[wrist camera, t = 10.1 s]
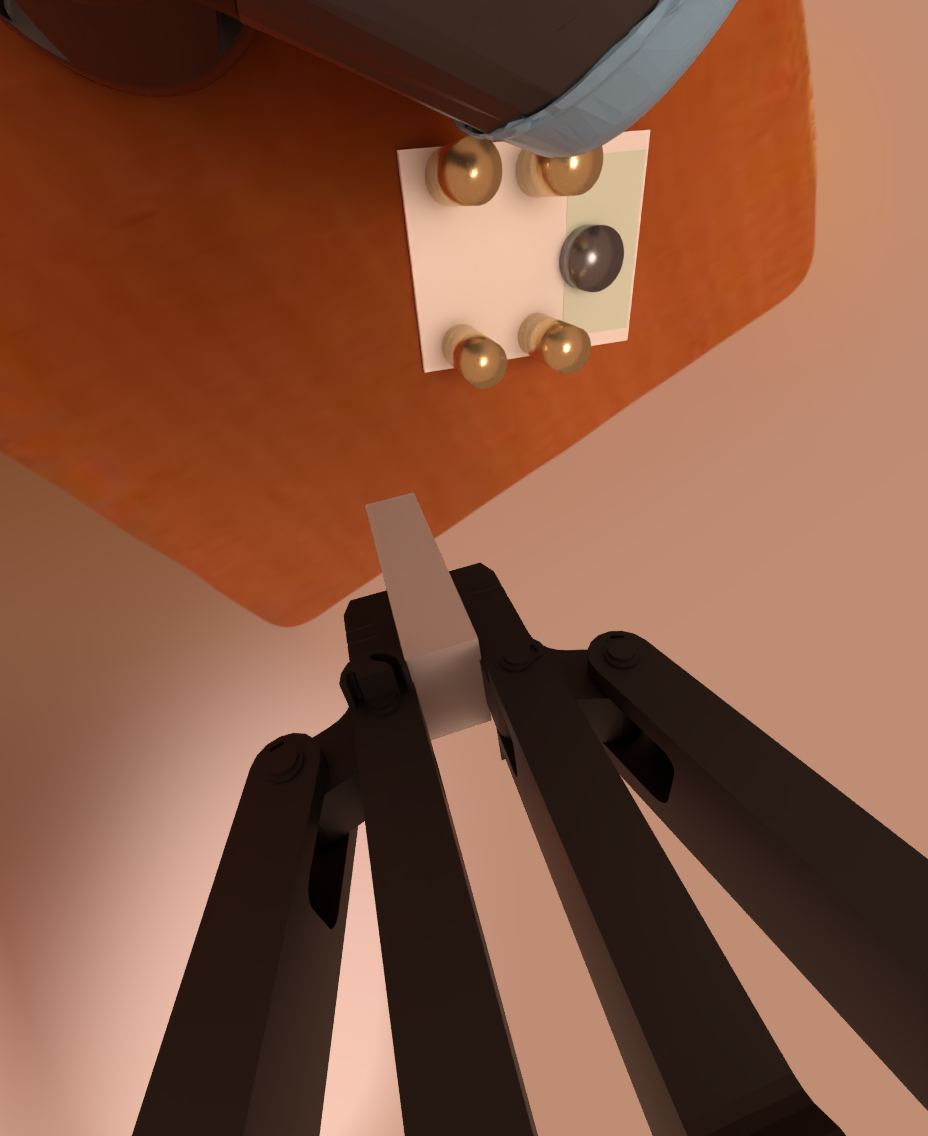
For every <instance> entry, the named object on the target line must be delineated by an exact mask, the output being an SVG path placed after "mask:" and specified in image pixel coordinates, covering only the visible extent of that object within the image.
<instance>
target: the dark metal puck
mask: <svg viewBox="0 0 928 1136" xmlns="http://www.w3.org/2000/svg"><path fill="white" fill-rule="evenodd" d="M623 259H624V246H623V241H622V239H621V237H620V235H619V233H618V232H617V231H616V230H615V229H614V228H612V227H610V226H607V225H590V224H588V225H582V226H580V227H578V228H576V229H575V230H574V231H572V232H571V233H570V234H569V236H568V237H567V238H566V240H565V242H564V244H563V246H562V249H561V252H560V258H559V267H560V272H561V275H562V277H563V279H564V281H565V282H566V283H567V284H568V285H569V286H571V287H573V288H576V289H579V290H583V291H587V292H599V291H602V290H604V289H605V288H607V287H608V286H610V285H611V284H612V283H613V281H614V280H615V279H616V277H617V276H618V274H619V272H620V270H621V267H622V264H623Z"/></svg>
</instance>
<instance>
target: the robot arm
mask: <svg viewBox="0 0 928 1136" xmlns="http://www.w3.org/2000/svg"><path fill="white" fill-rule="evenodd" d="M737 1H738V0H0V19H1V20H2V21H3V22H4V23H5V24H6V25H7V26H9V27H10V28H11V29H12V30H14V31H15V32H16V33H17V34H19V35H20V36H21V37H22V38H24V39H25V40H26V41H28V42H29V43H31V44H32V45H33V46H35V47H36V48H38V49H39V50H41V51H42V52H44V53H45V54H47V55H48V56H50V57H52V58H53V59H55V60H56V61H58V62H59V63H61V64H62V65H64V66H66V67H67V68H69V69H71V70H73V71H74V72H76V73H78V74H80V75H82V76H84V77H86V78H88V79H90V80H92V81H95V82H97V83H99V84H102V85H104V86H107V87H110V88H113V89H116V90H119V91H123V92H127V93H132V94H137V95H144V96H173V95H180V94H184V93H189V92H192V91H195V90H198V89H200V88H202V87H204V86H207V85H209V84H210V83H212V82H214V81H215V80H217V79H218V78H220V77H221V76H222V75H224V74H225V73H226V72H227V71H228V70H229V69H230V68H232V67H233V66H234V64H235V63H236V62H237V61H238V60H239V59H240V58H241V56H242V55H243V53H244V52H245V51H246V49H247V48H248V46H249V44H250V43H251V41H252V39H253V38H254V35H255V33H256V31H257V30H259V31H261V32H263V33H265V34H267V35H270V36H272V37H274V38H276V39H278V40H281V41H283V42H285V43H287V44H290V45H292V46H294V47H296V48H298V49H301V50H303V51H305V52H307V53H309V54H312V55H314V56H316V57H318V58H320V59H323V60H325V61H327V62H329V63H331V64H334V65H336V66H338V67H340V68H342V69H345V70H347V71H349V72H351V73H353V74H356V75H358V76H360V77H362V78H364V79H367V80H369V81H371V82H373V83H375V84H378V85H380V86H382V87H384V88H386V89H389V90H391V91H393V92H395V93H397V94H400V95H402V96H404V97H406V98H408V99H411V100H413V101H415V102H417V103H419V104H422V105H424V106H426V107H428V108H430V109H433V110H435V111H437V112H439V113H441V114H444V115H446V116H448V117H450V118H452V121H453V123H454V124H455V126H456V127H458V128H459V129H460V130H461V131H463V132H464V133H466V134H468V135H470V136H472V137H474V138H477V139H488V140H492V141H496V140H501V141H504V142H506V143H509V144H511V145H514V146H516V147H519V148H521V149H524V150H527V151H529V152H532V153H534V154H537V155H540V156H543V157H549V158H555V157H573V156H577V155H582V154H585V153H587V152H589V151H592V150H594V149H596V148H598V147H600V146H602V145H604V144H606V143H608V142H609V141H611V140H613V139H614V138H616V137H617V136H618V135H620V134H621V133H623V132H624V131H625V130H627V129H628V128H629V127H630V126H632V125H633V124H634V123H635V122H637V121H638V120H639V119H640V118H641V117H642V116H644V115H645V114H646V113H647V112H648V111H649V110H650V109H651V108H652V107H653V106H654V105H655V104H656V103H657V102H658V101H659V100H660V99H661V98H662V97H663V96H664V95H665V94H666V93H667V92H668V91H669V90H670V88H671V87H672V86H673V85H674V84H675V83H676V82H677V81H678V80H679V79H680V77H681V76H682V75H683V74H684V73H685V72H686V70H687V69H688V68H689V67H690V66H691V64H692V63H693V62H694V61H695V59H696V58H697V57H698V56H699V55H700V53H701V52H702V51H703V49H704V48H705V47H706V45H707V44H708V43H709V41H710V40H711V39H712V37H713V36H714V35H715V33H716V32H717V31H718V29H719V28H720V26H721V25H722V24H723V22H724V21H725V19H726V18H727V17H728V15H729V14H730V12H731V10H732V9H733V7H734V6H735V4H736V3H737ZM365 507H366V511H367V515H368V519H369V522H370V526H371V530H372V534H373V538H374V542H375V546H376V550H377V554H378V558H379V561H380V565H381V569H382V573H383V577H384V581H385V585H386V589H387V591H383V592H380V593H376V594H372V595H369V596H365V597H362V598H358V599H354V600H351V601H350V602H349V605H348V607H347V609H346V612H345V614H344V622H345V630H346V637H347V643H348V652H349V660H350V662H349V663H348V664H347V665H346V667H345V668H344V670H343V671H342V673H341V677H340V684H339V685H340V687H341V689H342V692H343V694H344V696H345V698H346V701H347V703H348V705H349V708H348V710H347V711H346V713H345V714H344V715H343V716H342V717H341V718H340V719H339V721H337V722H336V723H334V724H333V725H332V726H330V727H329V728H327V729H326V730H324V731H323V732H321V733H320V734H318V735H316V736H315V737H313V738H312V737H310V736H308V735H307V734H301V733H300V734H299V733H292V734H288V735H285V736H281V737H279V738H277V739H276V740H274V741H273V742H271V743H269V744H268V745H267V746H265V748H264V749H263V750H262V751H261V752H260V753H259V754H258V755H257V757H256V758H255V760H254V762H253V764H252V766H251V768H250V771H249V774H248V777H247V780H246V784H245V786H244V789H243V792H242V796H241V799H240V802H239V805H238V808H237V811H236V814H235V818H234V820H233V824H232V827H231V830H230V833H229V836H228V839H227V842H226V845H225V848H224V851H223V855H222V858H221V861H220V864H219V867H218V870H217V873H216V876H215V880H214V883H213V886H212V889H211V892H210V895H209V898H208V901H207V904H206V907H205V910H204V913H203V917H202V920H201V923H200V926H199V929H198V932H197V935H196V938H195V941H194V945H193V948H192V951H191V954H190V957H189V960H188V963H187V966H186V969H185V973H184V975H183V979H182V982H181V985H180V988H179V991H178V994H177V997H176V1001H175V1003H174V1007H173V1010H172V1013H171V1016H170V1019H169V1022H168V1025H167V1028H166V1031H165V1034H164V1038H163V1041H162V1044H161V1047H160V1050H159V1053H158V1056H157V1060H156V1062H155V1066H154V1069H153V1072H152V1075H151V1078H150V1081H149V1084H148V1087H147V1090H146V1093H145V1097H144V1100H143V1103H142V1106H141V1109H140V1112H139V1115H138V1118H137V1121H136V1125H135V1128H134V1131H133V1134H132V1136H319V1134H320V1126H321V1119H322V1111H323V1103H324V1094H325V1086H326V1079H327V1071H328V1062H329V1054H330V1047H331V1038H332V1030H333V1023H334V1015H335V1006H336V999H337V991H338V982H339V974H340V966H341V958H342V950H343V942H344V934H345V926H346V918H347V910H348V902H349V894H350V886H351V878H352V870H353V862H354V854H355V846H356V838H357V830H358V825H360V824H361V823H362V822H364V821H365V825H366V833H367V841H368V848H369V856H370V864H371V872H372V880H373V888H374V896H375V904H376V912H377V920H378V927H379V935H380V943H381V951H382V958H383V967H384V975H385V983H386V991H387V999H388V1007H389V1014H390V1022H391V1030H392V1038H393V1046H394V1054H395V1062H396V1070H397V1078H398V1086H399V1093H400V1102H401V1109H402V1118H403V1125H404V1133H405V1136H538V1134H537V1131H536V1127H535V1123H534V1120H533V1116H532V1112H531V1108H530V1105H529V1101H528V1097H527V1093H526V1090H525V1086H524V1083H523V1079H522V1075H521V1071H520V1068H519V1064H518V1061H517V1057H516V1053H515V1049H514V1045H513V1042H512V1038H511V1034H510V1031H509V1027H508V1023H507V1020H506V1016H505V1012H504V1008H503V1005H502V1001H501V997H500V994H499V990H498V987H497V983H496V979H495V975H494V971H493V968H492V964H491V960H490V957H489V953H488V949H487V946H486V942H485V938H484V935H483V931H482V927H481V923H480V920H479V916H478V913H477V909H476V905H475V901H474V898H473V894H472V890H471V886H470V883H469V879H468V875H467V872H466V868H465V864H464V860H463V857H462V853H461V850H460V846H459V842H458V839H457V835H456V831H455V827H454V824H453V820H452V816H451V813H450V809H449V805H448V802H447V798H446V794H445V790H444V787H443V783H442V779H441V775H440V772H439V768H438V764H437V761H436V758H435V755H434V751H433V747H432V744H431V740H433V739H436V738H439V737H442V736H445V735H448V734H451V733H454V732H457V731H460V730H463V729H466V728H469V727H472V726H475V725H478V724H481V723H485V722H488V721H491V715H492V717H493V720H494V722H495V725H496V727H497V733H498V740H499V746H500V752H501V759H502V760H504V759H506V761H507V763H508V766H509V768H510V771H511V774H512V777H513V779H514V782H515V784H516V787H517V789H518V792H519V794H520V797H521V800H522V802H523V804H524V807H525V810H526V812H527V815H528V817H529V820H530V823H531V825H532V828H533V830H534V833H535V835H536V838H537V840H538V843H539V846H540V848H541V851H542V853H543V856H544V858H545V861H546V863H547V866H548V869H549V871H550V874H551V876H552V879H553V881H554V884H555V886H556V889H557V891H558V894H559V897H560V899H561V901H562V904H563V907H564V910H565V912H566V915H567V917H568V920H569V922H570V925H571V928H572V930H573V933H574V935H575V938H576V940H577V943H578V946H579V948H580V950H581V953H582V956H583V958H584V961H585V963H586V966H587V968H588V971H589V974H590V976H591V979H592V981H593V983H594V987H595V989H596V991H597V994H598V997H599V999H600V1002H601V1004H602V1007H603V1010H604V1012H605V1015H606V1017H607V1020H608V1022H609V1025H610V1027H611V1030H612V1033H613V1035H614V1038H615V1040H616V1043H617V1045H618V1048H619V1050H620V1053H621V1056H622V1058H623V1061H624V1063H625V1066H626V1068H627V1071H628V1074H629V1076H630V1079H631V1081H632V1084H633V1086H634V1089H635V1091H636V1094H637V1097H638V1099H639V1102H640V1104H641V1107H642V1109H643V1112H644V1115H645V1117H646V1120H647V1122H648V1125H649V1127H650V1130H651V1132H652V1135H653V1136H846V1135H845V1134H844V1132H843V1131H842V1130H841V1129H840V1127H838V1125H836V1124H835V1123H834V1122H833V1121H832V1120H831V1119H830V1118H829V1117H828V1116H827V1115H826V1114H825V1113H824V1112H823V1111H822V1110H821V1109H820V1108H819V1107H818V1106H817V1105H816V1104H815V1103H814V1102H813V1101H812V1100H811V1098H810V1097H809V1096H808V1095H807V1093H806V1092H805V1091H804V1089H803V1088H802V1086H801V1085H800V1083H799V1082H798V1080H797V1079H796V1077H795V1075H794V1074H793V1072H792V1070H791V1069H790V1067H789V1066H788V1064H787V1062H786V1060H785V1058H784V1057H783V1055H782V1053H781V1052H780V1050H779V1048H778V1046H777V1045H776V1043H775V1041H774V1040H773V1038H772V1036H771V1034H770V1033H769V1031H768V1029H767V1028H766V1026H765V1024H764V1022H763V1021H762V1019H761V1017H760V1015H759V1014H758V1012H757V1010H756V1009H755V1007H754V1005H753V1004H752V1002H751V1000H750V998H749V997H748V995H747V993H746V991H745V990H744V988H743V986H742V985H741V983H740V981H739V979H738V978H737V976H736V974H735V972H734V971H733V969H732V967H731V966H730V964H729V962H728V960H727V959H726V957H725V955H724V954H723V952H722V950H721V948H720V947H719V945H718V943H717V942H716V940H715V938H714V936H713V935H712V933H711V931H710V929H709V928H708V926H707V924H706V923H705V921H704V919H703V917H702V916H701V914H700V912H699V911H698V909H697V907H696V905H695V904H694V902H693V900H692V899H691V897H690V895H689V893H688V892H687V890H686V888H685V887H684V885H683V883H682V881H681V880H680V878H679V876H678V875H677V873H676V871H675V869H674V868H673V866H672V864H671V862H670V861H669V859H668V857H667V855H666V854H665V852H664V850H663V849H662V847H661V845H660V844H659V842H658V840H657V838H656V837H655V835H654V833H653V831H652V830H651V828H650V826H649V825H648V823H647V821H646V819H645V818H644V816H643V814H642V813H641V811H640V809H639V807H638V806H637V804H636V802H635V800H634V799H633V797H632V795H631V794H630V792H629V790H628V788H627V787H626V785H625V784H624V782H623V780H622V778H623V779H624V780H625V781H626V782H627V783H628V784H629V785H630V786H631V787H632V789H633V790H634V791H635V792H636V793H637V794H638V795H639V796H640V797H641V798H642V799H643V801H645V803H646V804H647V805H648V806H649V807H650V808H651V809H652V810H653V811H654V813H655V814H656V815H657V816H658V817H659V818H660V819H661V820H662V821H663V822H664V823H665V824H666V826H667V827H668V828H669V829H670V830H671V831H672V832H673V833H674V834H675V835H676V837H677V838H678V839H679V840H680V841H681V842H682V843H683V844H684V845H685V846H686V847H687V849H688V850H689V851H690V852H691V853H692V854H693V855H694V856H695V857H696V858H697V859H698V860H699V861H700V863H701V864H702V865H703V866H704V867H705V868H706V869H707V870H708V871H709V873H710V874H711V875H712V876H713V877H714V878H715V879H716V880H717V881H718V882H719V883H720V885H722V887H723V888H724V889H725V890H726V891H727V892H728V893H729V894H730V895H731V897H732V898H733V899H734V900H735V901H736V902H737V903H738V904H739V905H740V906H741V907H742V908H743V910H744V911H745V912H746V913H747V914H748V915H749V916H750V917H751V918H752V919H753V921H754V922H755V923H756V924H757V925H758V926H759V927H760V928H761V929H762V930H763V931H764V933H765V934H766V935H768V937H769V938H770V939H771V940H772V941H773V942H774V943H775V945H777V947H778V948H779V949H780V950H781V951H782V952H783V953H784V954H785V955H786V957H787V958H788V959H789V960H790V961H791V962H792V963H793V964H794V965H795V966H796V967H797V969H798V970H799V971H800V972H801V973H802V974H803V975H804V976H805V977H806V978H807V979H808V981H809V982H810V983H811V984H812V985H813V986H814V987H815V988H816V989H817V990H818V991H819V992H820V994H821V995H822V996H823V997H824V998H825V999H826V1000H827V1001H828V1002H829V1003H830V1005H831V1006H832V1007H833V1008H834V1009H835V1010H836V1011H837V1012H838V1013H839V1014H840V1016H841V1017H842V1018H843V1019H844V1020H845V1021H846V1022H847V1023H848V1024H849V1025H850V1026H851V1028H852V1029H853V1030H854V1031H855V1032H856V1033H857V1034H858V1035H859V1036H860V1037H861V1038H862V1040H863V1041H865V1043H866V1044H867V1045H868V1046H869V1047H870V1048H871V1049H872V1050H873V1051H874V1053H875V1054H876V1055H877V1056H878V1057H879V1058H880V1059H881V1060H882V1061H883V1062H884V1064H886V1066H887V1067H888V1068H889V1069H890V1070H891V1071H892V1072H893V1073H894V1074H895V1075H896V1077H897V1078H898V1079H899V1080H900V1081H901V1082H902V1083H903V1084H904V1085H905V1086H906V1087H907V1089H908V1090H909V1091H910V1092H911V1093H912V1094H913V1095H914V1096H915V1097H916V1098H917V1100H918V1101H919V1102H920V1103H921V1104H922V1105H923V1106H924V1107H925V1108H926V1109H927V1110H928V859H927V858H926V857H924V856H923V855H922V854H920V853H919V852H918V851H917V850H915V849H914V848H913V847H911V846H910V845H909V844H907V843H906V842H905V841H904V840H902V839H901V838H900V837H898V836H897V835H896V834H895V833H893V832H892V831H891V830H890V829H888V828H887V827H886V826H884V825H883V824H882V823H881V822H879V821H878V820H877V819H875V818H874V817H873V816H872V815H870V814H869V813H868V812H866V811H865V810H864V809H863V808H861V807H860V806H859V805H857V804H856V803H855V802H853V801H852V800H851V799H850V798H848V797H847V796H846V795H844V794H843V793H842V792H841V791H839V790H838V789H837V788H835V787H834V786H833V785H832V784H830V783H829V782H828V781H826V780H825V779H824V778H823V777H821V776H820V775H819V774H817V773H816V772H815V771H814V770H812V769H811V768H810V767H808V766H807V765H806V764H805V763H803V762H802V761H801V760H799V759H798V758H797V757H796V756H794V755H793V754H792V753H790V752H789V751H788V750H787V749H785V748H784V747H783V746H781V745H780V744H779V743H778V742H776V741H775V740H774V739H772V738H771V737H770V736H768V735H767V734H766V733H765V732H763V731H762V730H761V729H759V728H758V727H757V726H756V725H754V724H753V723H752V722H750V721H749V720H748V719H746V718H745V717H744V716H743V715H741V714H740V713H739V712H738V711H736V710H735V709H734V708H732V707H731V706H730V705H729V704H727V703H726V702H725V701H723V700H722V699H721V698H719V697H718V696H717V695H716V694H714V693H713V692H712V691H711V690H709V689H708V688H707V687H705V686H704V685H703V684H701V683H700V682H699V681H698V680H696V679H695V678H694V677H692V676H691V675H690V674H689V673H687V672H686V671H685V670H683V669H682V668H681V667H680V666H678V665H677V664H675V663H674V662H673V661H672V660H671V659H669V658H668V657H667V656H665V655H664V654H663V653H662V652H660V651H659V650H658V649H656V648H655V647H654V646H653V645H651V644H650V643H649V642H647V641H646V640H645V639H643V638H641V637H639V636H637V635H635V634H633V633H629V632H624V631H609V632H607V633H604V634H601V635H599V636H597V637H596V638H595V639H594V640H593V641H592V642H591V643H590V646H589V648H588V650H556V649H551V648H547V647H545V646H543V645H542V644H541V643H540V642H539V641H537V640H534V639H533V638H532V637H531V635H530V634H529V633H528V631H527V629H526V628H525V626H524V624H523V622H522V620H521V619H520V617H519V615H518V613H517V612H516V610H515V608H514V606H513V605H512V603H511V601H510V599H509V598H508V597H507V594H506V592H505V590H504V589H503V587H502V586H501V584H500V582H499V580H498V578H497V576H496V575H495V573H494V571H492V570H491V569H489V568H488V567H486V566H485V565H483V564H481V563H477V564H474V565H470V566H467V567H463V568H459V569H456V570H452V571H448V569H447V567H446V565H445V562H444V560H443V558H442V556H441V553H440V551H439V549H438V546H437V544H436V542H435V540H434V537H433V535H432V533H431V530H430V528H429V526H428V524H427V521H426V519H425V517H424V515H423V512H422V510H421V508H420V505H419V503H418V501H417V499H416V496H415V494H414V492H413V493H409V494H405V495H401V496H397V497H393V498H390V499H386V500H382V501H378V502H374V503H370V504H366V505H365ZM490 712H491V714H490ZM619 774H620V775H621V777H622V778H621V777H620V775H619Z"/></svg>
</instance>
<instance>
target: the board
mask: <svg viewBox="0 0 928 1136" xmlns="http://www.w3.org/2000/svg"><path fill="white" fill-rule="evenodd" d="M649 138H650V130H641V131H628V132H623V133H621V134H620V135H618V136H617V137H616V138H614V139H613V140H611V141H609V142H608V143H606V144H604V145H602V147H603V166H602V170H601V173H600V176H599V178H598V180H597V182H596V183H595V185H594V186H593V187H592V188H591V189H590V190H589V191H587V192H586V193H584V194H582V195H577V196H558V197H539V198H533V197H530V196H528V195H526V194H525V193H524V192H523V191H522V190H521V189H520V187H519V185H518V182H517V179H516V162H517V158H518V155H519V153H520V151H521V150H522V149H521V148H519V147H516V146H514V145H511V144H509V143H506V142H492V143H493V144H494V145H495V146H496V148H497V150H498V151H499V154H500V157H501V161H502V180H501V184H500V187H499V189H498V191H497V193H496V194H495V196H494V197H493V198H492V199H491V200H490V201H489V202H487V203H485V204H483V205H480V206H443V205H441V204H439V203H437V202H436V201H435V200H434V199H433V198H432V197H431V195H430V193H429V191H428V189H427V186H426V181H425V170H426V165H427V162H428V160H429V158H430V156H431V155H432V154H433V152H434V151H436V150H437V149H439V148H441V147H430V148H417V149H405V150H397V159H398V167H399V175H400V183H401V191H402V199H403V208H404V216H405V224H406V232H407V240H408V248H409V256H410V265H411V273H412V281H413V289H414V297H415V305H416V314H417V322H418V330H419V338H420V346H421V354H422V363H423V371H424V372H425V373H426V372H432V371H438V370H445V369H451V368H454V367H453V366H452V365H451V364H450V363H449V362H448V361H447V360H446V359H445V357H444V355H443V352H442V341H443V338H444V335H445V334H446V332H447V331H448V330H449V329H450V328H451V327H453V326H455V325H457V324H467V325H469V326H471V327H473V328H474V329H476V330H477V331H479V332H481V333H482V334H484V335H485V336H487V337H488V338H490V339H491V340H493V341H495V342H496V343H498V344H499V345H500V346H501V347H502V348H503V349H504V351H505V353H506V356H507V359H513V358H519V357H525V356H530V355H528V354H527V353H525V352H524V351H523V350H522V349H521V347H520V345H519V342H518V331H519V328H520V325H521V324H522V322H523V321H524V320H525V318H527V317H528V316H529V315H531V314H534V313H543V314H546V315H548V316H551V317H553V318H556V319H559V320H561V321H564V322H566V323H569V324H571V325H574V326H577V327H579V328H581V329H583V330H585V331H586V332H587V334H588V335H589V338H590V341H591V346H594V345H600V344H606V343H613V342H619V341H625V340H627V338H628V329H629V320H630V311H631V302H632V292H633V283H634V274H635V265H636V256H637V247H638V238H639V229H640V220H641V211H642V201H643V192H644V183H645V174H646V165H647V156H648V147H649ZM442 147H443V146H442ZM588 224H590V225H607V226H610V227H612V228H614V229H615V230H616V231H617V232H618V233H619V235H620V237H621V239H622V241H623V246H624V259H623V264H622V267H621V270H620V272H619V274H618V276H617V277H616V279H615V280H614V281H613V283H612V284H611V285H610V286H608V287H607V288H605V289H604V290H602V291H599V292H587V291H583V290H579V289H576V288H573V287H571V286H569V285H568V284H567V283H566V282H565V281H564V279H563V277H562V275H561V272H560V267H559V258H560V252H561V249H562V246H563V244H564V242H565V240H566V238H567V237H568V236H569V234H570V233H571V232H572V231H574V230H575V229H576V228H578V227H580V226H582V225H588Z"/></svg>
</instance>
